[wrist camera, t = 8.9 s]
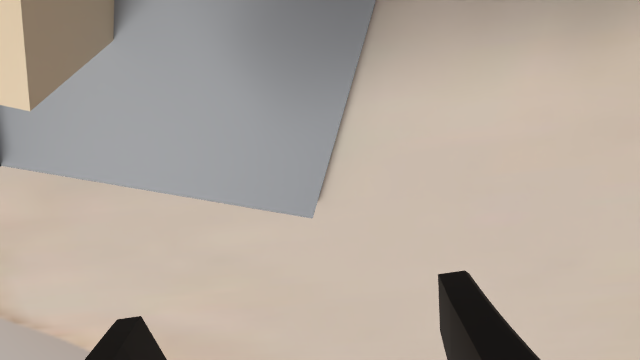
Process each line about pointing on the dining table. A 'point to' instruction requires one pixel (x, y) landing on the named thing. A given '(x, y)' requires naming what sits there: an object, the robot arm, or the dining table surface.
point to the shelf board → (203, 102)
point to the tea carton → (48, 45)
